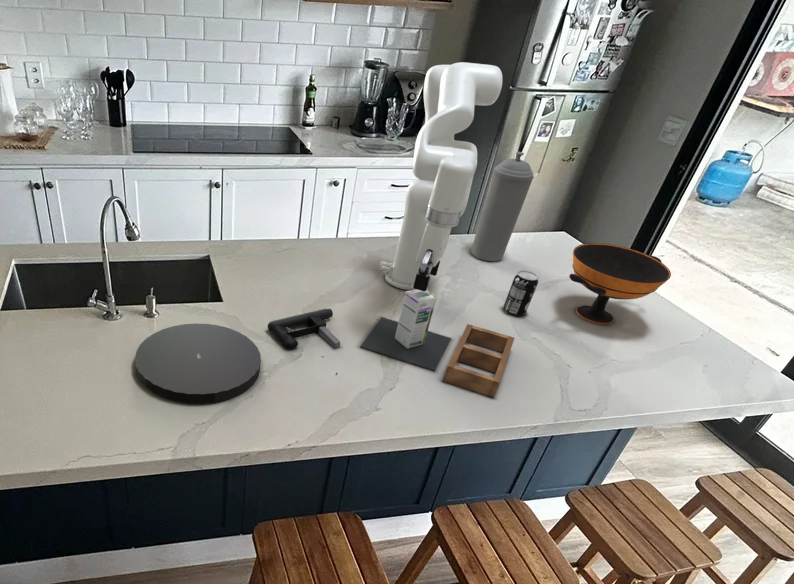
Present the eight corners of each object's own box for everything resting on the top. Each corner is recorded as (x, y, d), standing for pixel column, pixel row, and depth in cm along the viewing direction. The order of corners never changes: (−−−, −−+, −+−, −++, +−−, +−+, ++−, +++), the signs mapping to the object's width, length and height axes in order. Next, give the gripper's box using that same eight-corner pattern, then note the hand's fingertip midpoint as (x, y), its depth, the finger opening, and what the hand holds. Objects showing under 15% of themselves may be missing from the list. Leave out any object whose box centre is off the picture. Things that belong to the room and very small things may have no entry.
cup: (591, 349, 157) (620, 292, 146) (520, 306, 174) (542, 252, 163) (669, 324, 172) (701, 271, 161) (596, 287, 189) (621, 236, 178)
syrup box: (407, 349, 151) (420, 300, 141) (393, 338, 155) (405, 290, 145) (424, 345, 153) (438, 296, 144) (410, 334, 157) (423, 286, 148)
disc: (123, 343, 145) (122, 333, 143) (233, 325, 155) (234, 315, 153) (154, 416, 124) (153, 405, 122) (279, 389, 134) (281, 379, 132)
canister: (510, 256, 203) (547, 154, 182) (494, 266, 196) (531, 160, 174) (477, 245, 210) (510, 144, 188) (461, 254, 202) (492, 150, 181)
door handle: (359, 335, 151) (326, 303, 161) (294, 351, 143) (264, 317, 153) (356, 345, 153) (324, 313, 163) (293, 362, 145) (263, 328, 155)
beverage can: (522, 307, 174) (536, 271, 167) (527, 318, 169) (542, 281, 162) (500, 304, 174) (513, 268, 167) (505, 315, 169) (519, 279, 162)
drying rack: (442, 380, 141) (447, 365, 138) (462, 337, 158) (467, 323, 155) (493, 397, 137) (499, 382, 134) (509, 351, 154) (514, 337, 151)
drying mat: (359, 347, 151) (360, 346, 150) (381, 318, 163) (381, 316, 163) (434, 371, 144) (434, 370, 144) (450, 339, 157) (451, 338, 157)
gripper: (436, 200, 139) (419, 264, 150) (417, 223, 127) (400, 291, 138) (467, 207, 137) (447, 272, 148) (450, 231, 125) (430, 300, 136)
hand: (424, 281), depth 143 cm, fingers open, 9 cm apart
